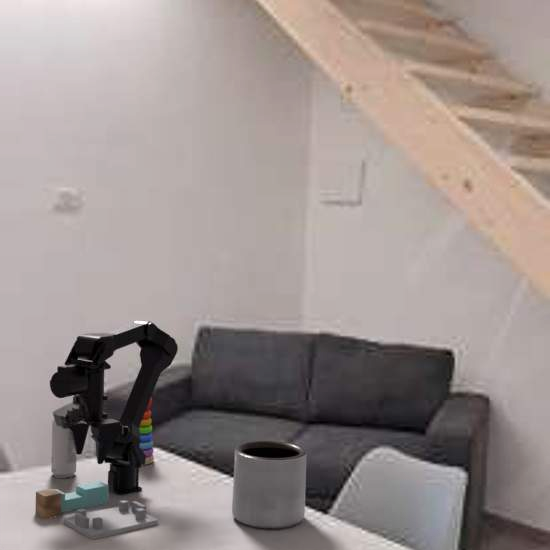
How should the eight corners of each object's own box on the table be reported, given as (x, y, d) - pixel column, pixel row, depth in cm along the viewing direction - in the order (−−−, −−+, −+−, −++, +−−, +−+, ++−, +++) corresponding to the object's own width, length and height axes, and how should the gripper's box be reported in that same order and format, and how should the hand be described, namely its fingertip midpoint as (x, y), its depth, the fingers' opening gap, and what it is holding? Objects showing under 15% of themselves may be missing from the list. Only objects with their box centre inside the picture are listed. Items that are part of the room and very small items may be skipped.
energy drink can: (58, 470, 240) (60, 411, 238) (80, 473, 238) (81, 414, 237) (46, 476, 234) (47, 416, 233) (68, 479, 232) (70, 419, 231)
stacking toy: (129, 467, 245) (131, 395, 244) (119, 459, 252) (121, 389, 251) (158, 464, 249) (160, 393, 247) (147, 456, 256) (149, 387, 254)
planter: (292, 535, 200) (296, 463, 199) (221, 525, 205) (224, 453, 204) (312, 512, 216) (315, 445, 214) (245, 503, 220) (248, 437, 219)
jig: (127, 509, 213) (127, 495, 212) (158, 524, 204) (158, 510, 203) (63, 522, 202) (63, 509, 202) (92, 539, 193) (92, 525, 193)
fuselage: (98, 497, 220) (99, 480, 219) (108, 502, 217) (108, 485, 216) (51, 507, 212) (52, 489, 211) (60, 512, 209) (61, 494, 208)
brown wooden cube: (52, 510, 210) (52, 488, 209) (61, 515, 207) (61, 493, 206) (35, 514, 207) (35, 491, 207) (44, 519, 204) (44, 496, 204)
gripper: (38, 387, 215) (37, 454, 216) (80, 402, 201) (78, 475, 203) (81, 382, 223) (80, 447, 224) (125, 396, 209) (123, 466, 210)
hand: (89, 459), depth 215 cm, fingers open, 9 cm apart
